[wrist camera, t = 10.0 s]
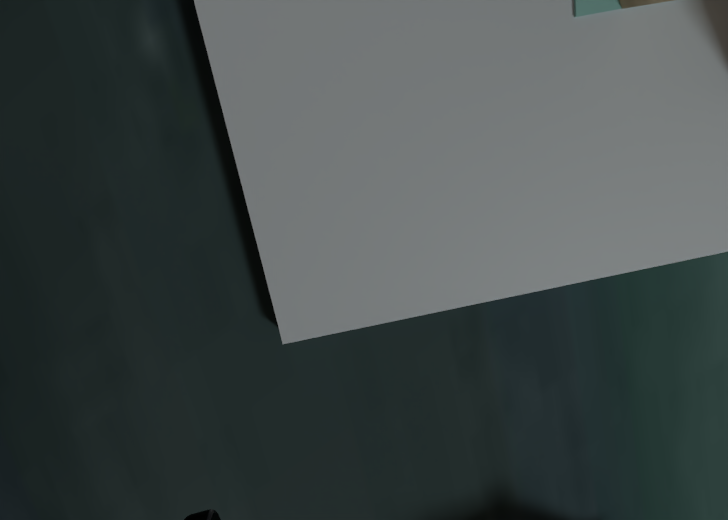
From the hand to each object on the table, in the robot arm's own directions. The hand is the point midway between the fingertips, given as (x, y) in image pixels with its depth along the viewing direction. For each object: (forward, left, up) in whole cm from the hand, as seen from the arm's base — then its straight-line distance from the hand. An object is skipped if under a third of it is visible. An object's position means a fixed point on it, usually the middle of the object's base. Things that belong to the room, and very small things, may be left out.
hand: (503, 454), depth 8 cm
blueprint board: (+6, +5, -13) cm, 15 cm away
